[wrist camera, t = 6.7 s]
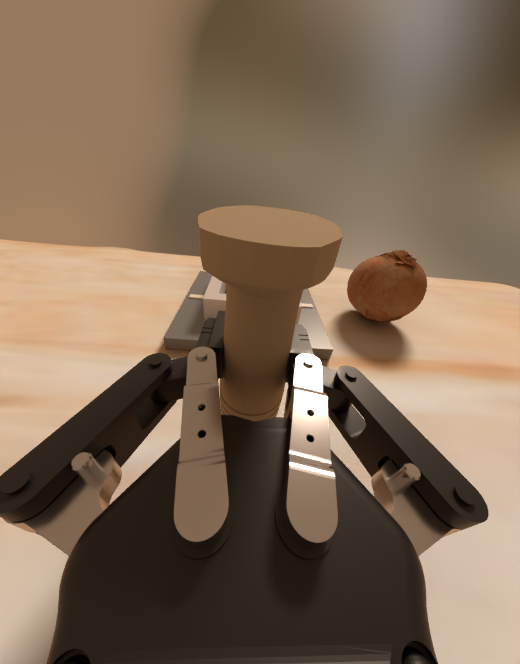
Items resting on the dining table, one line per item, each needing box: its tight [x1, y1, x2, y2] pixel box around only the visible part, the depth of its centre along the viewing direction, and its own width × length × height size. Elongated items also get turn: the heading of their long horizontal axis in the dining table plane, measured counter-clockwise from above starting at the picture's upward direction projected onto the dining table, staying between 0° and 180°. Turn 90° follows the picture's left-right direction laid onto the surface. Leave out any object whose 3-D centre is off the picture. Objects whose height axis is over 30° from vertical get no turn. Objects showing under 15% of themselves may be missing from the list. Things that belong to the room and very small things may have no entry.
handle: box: [198, 205, 342, 422], centre depth 12 cm, size 5×6×15 cm
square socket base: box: [164, 271, 333, 359], centre depth 30 cm, size 18×18×4 cm
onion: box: [347, 250, 427, 323], centre depth 30 cm, size 10×9×10 cm
